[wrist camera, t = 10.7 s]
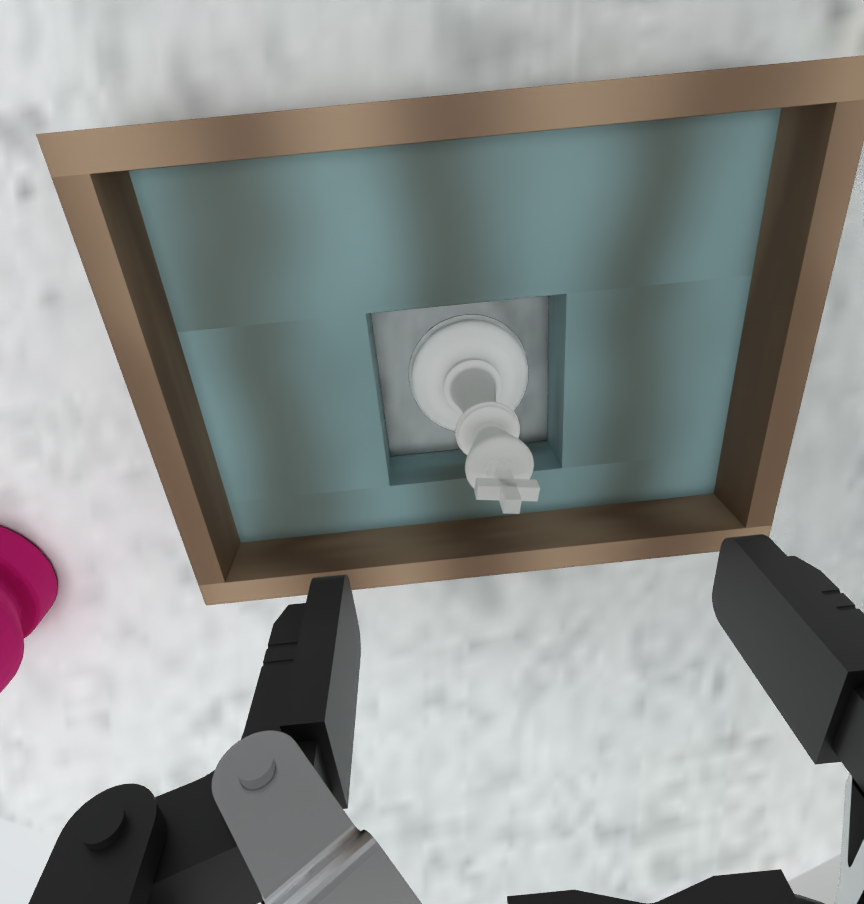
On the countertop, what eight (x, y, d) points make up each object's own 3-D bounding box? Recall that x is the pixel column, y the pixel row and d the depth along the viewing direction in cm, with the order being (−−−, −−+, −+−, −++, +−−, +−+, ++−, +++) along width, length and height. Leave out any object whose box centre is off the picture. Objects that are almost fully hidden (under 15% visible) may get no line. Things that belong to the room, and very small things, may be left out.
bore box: (772, 75, 19) (884, 53, 15) (704, 481, 27) (766, 546, 22) (119, 138, 19) (36, 134, 15) (237, 529, 26) (205, 605, 22)
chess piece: (412, 310, 22) (423, 416, 13) (535, 317, 23) (626, 424, 14) (405, 425, 25) (412, 579, 16) (518, 429, 25) (586, 581, 16)
